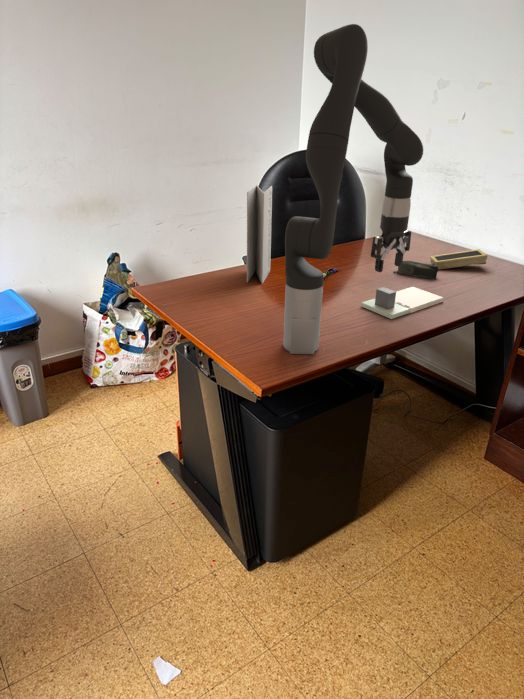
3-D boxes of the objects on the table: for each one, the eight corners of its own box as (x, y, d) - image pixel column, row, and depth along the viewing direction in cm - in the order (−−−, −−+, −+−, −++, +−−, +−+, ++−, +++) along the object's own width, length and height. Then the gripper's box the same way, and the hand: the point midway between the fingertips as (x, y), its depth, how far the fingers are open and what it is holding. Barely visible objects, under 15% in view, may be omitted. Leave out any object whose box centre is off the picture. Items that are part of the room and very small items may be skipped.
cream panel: (412, 290, 175) (412, 286, 174) (442, 301, 167) (443, 297, 166) (379, 301, 166) (380, 296, 166) (410, 313, 158) (410, 308, 157)
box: (487, 267, 195) (488, 254, 193) (426, 276, 196) (426, 263, 194) (479, 261, 202) (479, 248, 200) (420, 269, 204) (420, 257, 201)
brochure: (262, 283, 179) (264, 193, 166) (246, 282, 180) (247, 192, 166) (270, 270, 192) (272, 185, 178) (255, 269, 192) (256, 185, 179)
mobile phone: (439, 264, 186) (396, 258, 191) (438, 267, 184) (395, 260, 189) (436, 278, 188) (394, 271, 193) (435, 280, 186) (392, 273, 191)
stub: (378, 300, 166) (380, 281, 163) (409, 312, 157) (412, 293, 155) (361, 306, 162) (363, 286, 159) (391, 319, 153) (394, 298, 150)
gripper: (401, 207, 153) (394, 261, 160) (368, 213, 145) (362, 270, 153) (422, 212, 148) (414, 267, 155) (389, 219, 140) (382, 277, 147)
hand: (388, 268), depth 154 cm, fingers open, 8 cm apart
